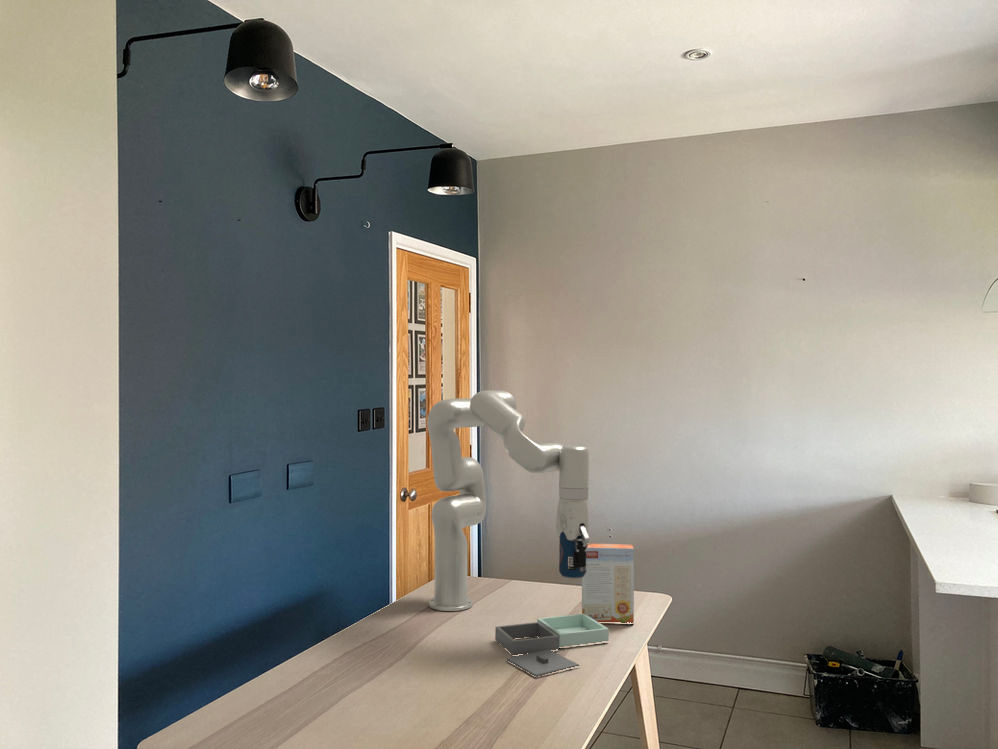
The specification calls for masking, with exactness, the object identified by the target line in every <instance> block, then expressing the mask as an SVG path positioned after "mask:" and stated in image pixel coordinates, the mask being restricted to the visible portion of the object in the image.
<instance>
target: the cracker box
mask: <svg viewBox="0 0 998 749" xmlns="http://www.w3.org/2000/svg"><path fill="white" fill-rule="evenodd" d="M634 562H635V548H634V546H633V544H629V543H628V544H627V543H626V544H625V543H623V544H622V543H621V544H620V543H619V544H618V543H588V546H587V556H586V573H585V575H584V577H582V578H581V614H586V615H587V616H589V617H591V618H592V619H594V620H595V621H597V622H621V623H627V622H629V623H630V622H631V623H633V622H634V623H635V621H634V620H635V619H634V617H635V613H634V612H635V610H634V608H635V602H634V601H635V600H634V599H635V597H634V596H635V591H634V590H635V587H634V586H635V582H634V581H635V580H634V579H635V572H634V571H635V566H634V565H635V563H634Z"/></svg>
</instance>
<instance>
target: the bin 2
mask: <svg viewBox="0 0 998 749" xmlns="http://www.w3.org/2000/svg"><path fill="white" fill-rule="evenodd" d="M536 622H540V623H541V624H543V625H544V626H546V627H547V628H548V629H550V630H551V631H552V632H554V633H555V634H556V635H558V636H559V647H564V646H571V645H580V644H588V643H596V642H602V641H609V642H610V640H609V639H610V638H609V636H610V635H609V634H610V629H609V628H608V627H606V626H605V625H604V624H600V623H599V622H597V621H595V620H594V619H592V618H591V617H589V616H587V615H586V614H582V613H576V614H568V615H567V614H566V615H558V616H548V617H547V616H546V617H539V618H538V617H537V621H536ZM583 628H585V629H583Z"/></svg>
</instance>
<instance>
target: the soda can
mask: <svg viewBox="0 0 998 749" xmlns="http://www.w3.org/2000/svg"><path fill="white" fill-rule="evenodd" d="M563 531H564V530H563ZM577 539H582V536H577ZM579 544H580V542H578V545H579ZM574 551H575V547H574V540H573V541H569V540H568V539H567V538H566V535H565V533H564V532H561V534H560V537H559V553H558V554H559V556H558V558H559V559H558V561H559V562H558V564H559V565H558V571H559V574H560V575H561V577H562V578H564V579H569V580H570V579H572V580H576V579H582V577H584V575H585V573H586V566H585V567H579V568H575V567H574V566H573V553H574ZM586 556H587V551H586Z"/></svg>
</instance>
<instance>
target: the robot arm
mask: <svg viewBox="0 0 998 749" xmlns="http://www.w3.org/2000/svg"><path fill="white" fill-rule="evenodd" d="M426 422H427V431H428V434H429V435H428V437H429V440H430V444H431V445H430V446H431V460H432V471H433V472H432V473H433V479H434V484H435V487H436V488H437V489H438V490H440V491H442V492H455V491H456V492H457V491H459V494H455V495H450V496H444V497H442V498H440V499H438V500H437V501H435V503H434V504H433V506H432V510H431V520H432V526H433V533H434V595H433V596H434V597H433V598H431V599H430V600H429V601H428V607H430V608H431V609H432V610H436V611H440V612H441V611H442V612H459V611H465V610H468V609H470V608H471V607H473V600H472V598H469V597H468V562H469V561H468V558H469V556H468V552H469V551H468V548H469V547H468V540H467V537H466V534H465V533H464V530H463V529H464V528H467V527H472V526H475V525H478V524H481V523H482V522H483V521H484V519H485V518H486V513H487V498H486V488H485V476H484V470H483V468H482V466H481V464H480V463H479V462H478V460H477V459H475V458H474V457H470V456H463V457H462V449H461V443H460V439H459V437H458V435H457V433H456V432H455V429H461V428H462V429H463V428H465V429H466V428H476V427H481V426H482V427H483V426H486V427H487V428H489V429H490V430H491V431H492V432H493V433H494V434H496V435H497V436H498V437H499V438H500V439H502V442H503V446H504V448H505V451H506V453H507V454H508V456H509V457H510V459H512V460H513V461H514V462H515V463H516V464H517V465H518V466H520V467H521V468H523V469H524V470H526V471H528V472H529V473H531V474H537V475H538V474H543V473H544V474H545V473H553V472H559V474H558V504H557V512H556V528H555V530H556V534H557V536H558V537H559V538H560V534H561V532H564V533H565V535H566V538H567V539H568V540H569V541H573V540H574V547H575V551H574V553H573V566H574V567H575V568H579V567H585V566H586V551H587V546H588V544H590V536H589V530H590V529H589V525H590V524H589V521H590V520H589V510H588V509H589V508H588V501H589V481H590V480H589V470H590V469H589V467H590V466H589V463H590V462H589V461H590V452H589V449H588V448H587V447H586V446H584V445H574V444H572V445H571V444H570V445H569V444H564V443H562V442H548V443H547V442H546V443H535V442H534V441H532V440H531V439H530V438H529V437H528V436H526V435H525V434H524V433H523V432H524V428H525V426H526V418H525V417H524V415H523V414H522V413H520V412H519V411H518V410H517V401H516V398H515V397H514V396H513V395H512V394H511V393H510V392H508V391H507V390H502V389H501V390H500V389H499V390H497V389H495V390H494V389H492V390H491V389H490V390H489V389H488V390H487V389H486V390H481V391H479V392H476V393H475V394H474V395H473V396H472V397H471V398H448V399H443V400H439V401H438V402H436V403H435V404H434V405H432V407H431V408H430V410H429V413H428V415H427V420H426ZM563 530H564V531H563ZM577 536H582V539H577ZM578 542H580V544H579V545H578Z"/></svg>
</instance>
